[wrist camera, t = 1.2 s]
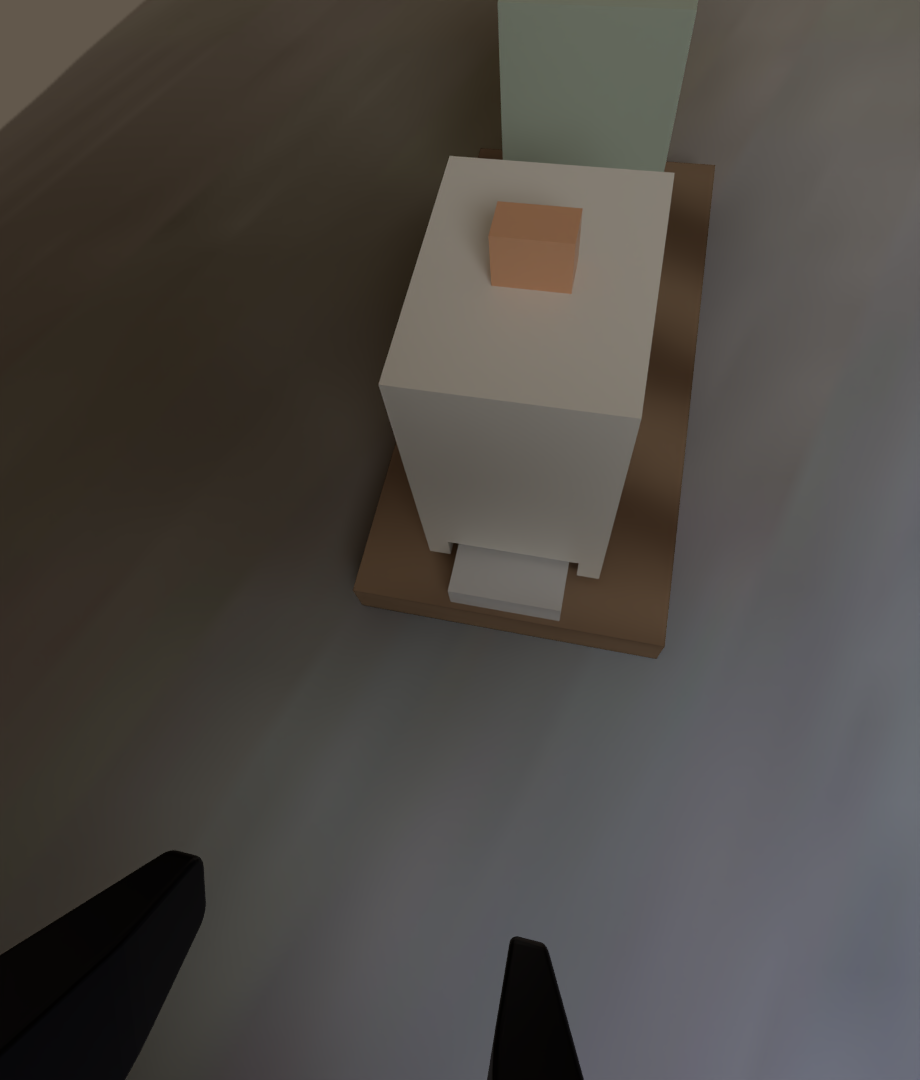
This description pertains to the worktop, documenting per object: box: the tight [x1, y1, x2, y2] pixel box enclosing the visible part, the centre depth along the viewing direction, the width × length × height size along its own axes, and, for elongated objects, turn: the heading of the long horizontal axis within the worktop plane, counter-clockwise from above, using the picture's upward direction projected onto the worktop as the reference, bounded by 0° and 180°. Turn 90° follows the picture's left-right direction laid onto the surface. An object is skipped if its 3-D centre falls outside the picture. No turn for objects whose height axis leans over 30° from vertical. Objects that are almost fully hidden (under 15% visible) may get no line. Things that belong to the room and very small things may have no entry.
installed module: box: [498, 0, 698, 172], centre depth 25 cm, size 6×6×9 cm
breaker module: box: [378, 156, 675, 579], centre depth 19 cm, size 7×6×10 cm
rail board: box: [353, 148, 715, 659], centre depth 27 cm, size 21×10×2 cm, turn 168°
